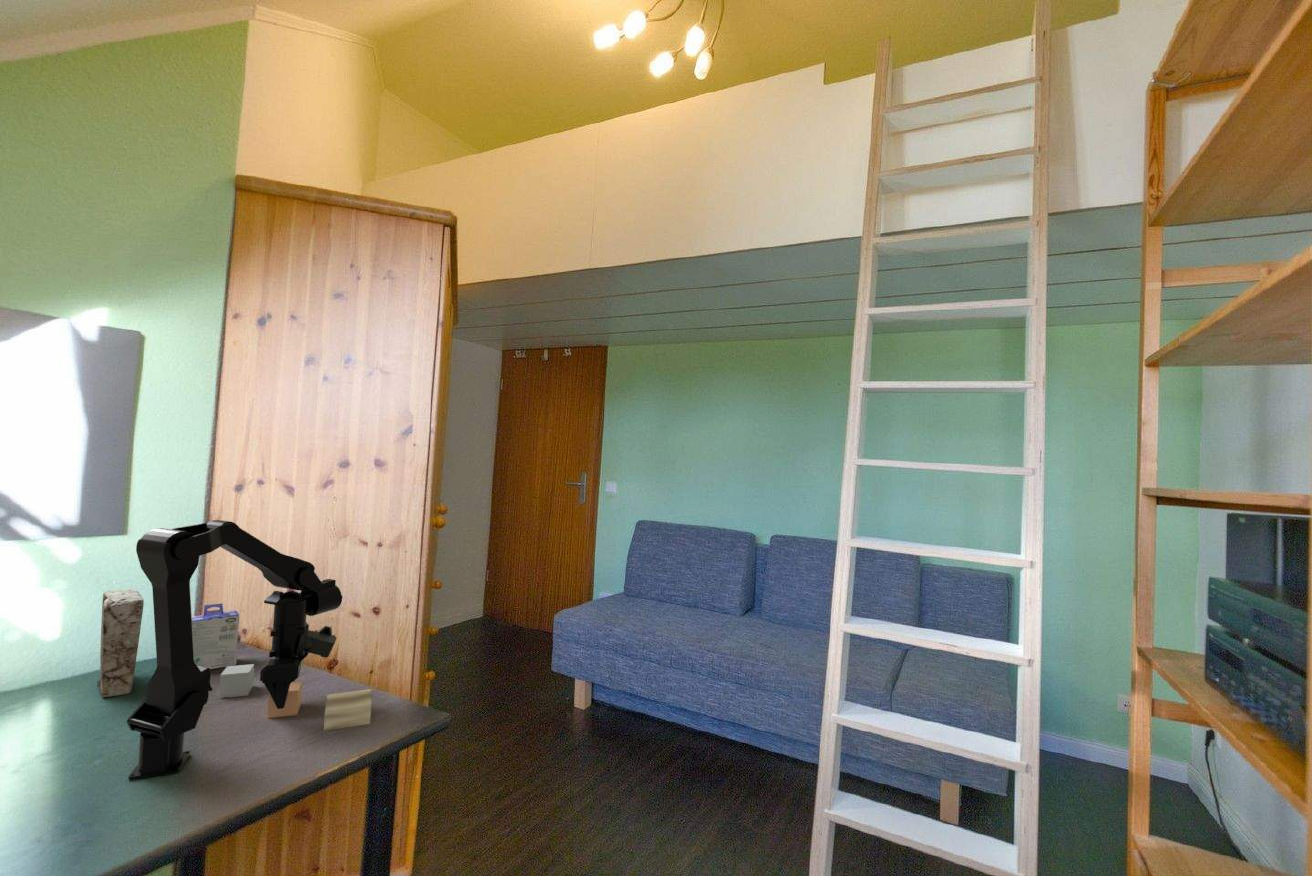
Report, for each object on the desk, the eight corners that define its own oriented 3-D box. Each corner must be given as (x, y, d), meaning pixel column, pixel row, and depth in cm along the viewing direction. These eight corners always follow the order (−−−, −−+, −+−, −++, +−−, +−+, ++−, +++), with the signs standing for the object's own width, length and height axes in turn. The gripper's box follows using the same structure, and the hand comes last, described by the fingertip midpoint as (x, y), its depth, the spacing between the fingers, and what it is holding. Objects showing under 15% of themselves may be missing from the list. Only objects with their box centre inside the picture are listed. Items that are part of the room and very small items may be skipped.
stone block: (143, 691, 124) (149, 597, 124) (98, 701, 118) (105, 603, 119) (129, 674, 132) (135, 586, 133) (86, 683, 127) (93, 591, 127)
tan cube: (296, 715, 117) (298, 690, 117) (267, 718, 115) (269, 693, 115) (300, 704, 122) (302, 680, 122) (272, 708, 120) (274, 683, 120)
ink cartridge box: (234, 658, 144) (238, 600, 144) (237, 665, 140) (241, 605, 140) (183, 667, 137) (187, 606, 138) (185, 675, 133) (189, 611, 134)
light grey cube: (247, 695, 124) (248, 672, 125) (219, 698, 122) (220, 675, 123) (252, 686, 129) (254, 664, 129) (225, 689, 127) (227, 666, 127)
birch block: (370, 725, 115) (371, 704, 115) (323, 732, 111) (324, 711, 111) (370, 708, 122) (371, 689, 122) (326, 714, 118) (327, 694, 119)
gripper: (329, 632, 113) (324, 713, 113) (339, 607, 130) (334, 677, 130) (262, 637, 109) (256, 721, 108) (280, 610, 126) (276, 683, 126)
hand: (285, 698), depth 118 cm, fingers open, 9 cm apart
